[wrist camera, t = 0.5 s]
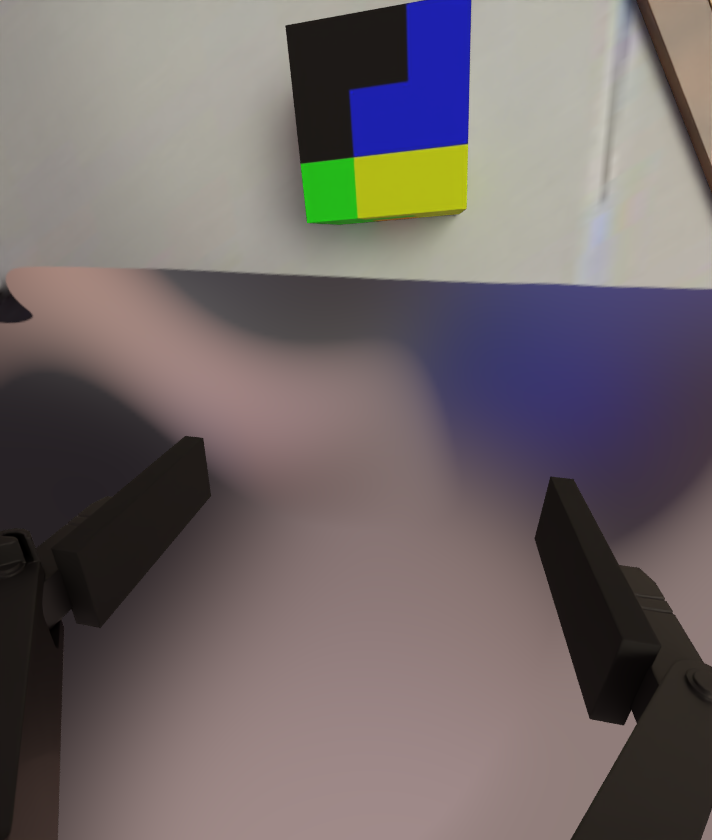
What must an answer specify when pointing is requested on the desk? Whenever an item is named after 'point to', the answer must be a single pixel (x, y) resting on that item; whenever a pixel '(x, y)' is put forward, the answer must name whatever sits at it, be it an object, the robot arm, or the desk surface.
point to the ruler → (686, 64)
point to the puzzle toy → (383, 111)
